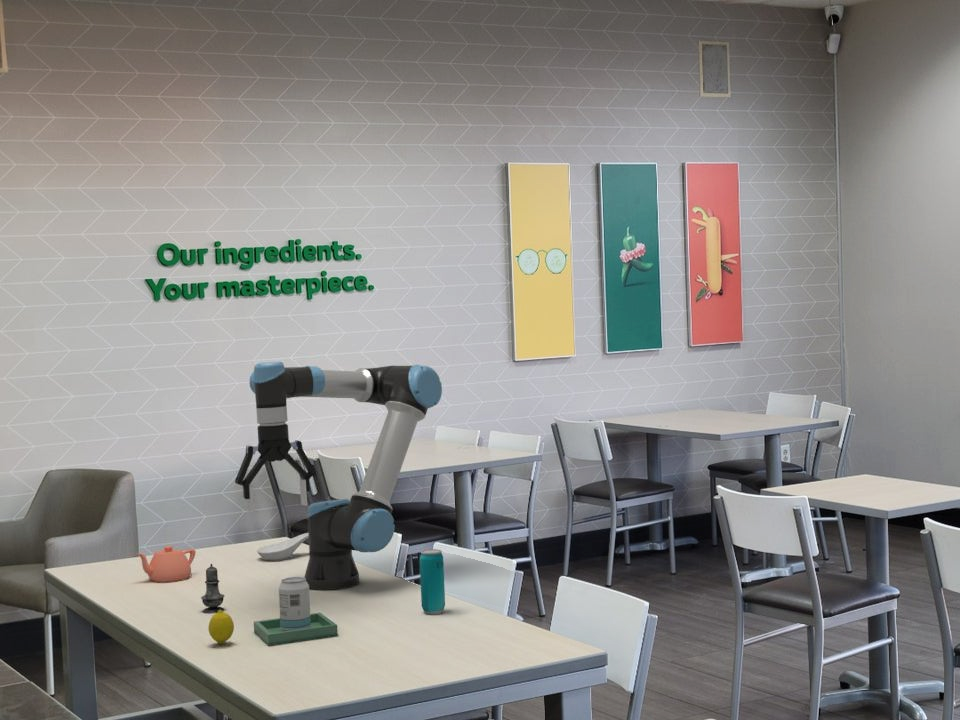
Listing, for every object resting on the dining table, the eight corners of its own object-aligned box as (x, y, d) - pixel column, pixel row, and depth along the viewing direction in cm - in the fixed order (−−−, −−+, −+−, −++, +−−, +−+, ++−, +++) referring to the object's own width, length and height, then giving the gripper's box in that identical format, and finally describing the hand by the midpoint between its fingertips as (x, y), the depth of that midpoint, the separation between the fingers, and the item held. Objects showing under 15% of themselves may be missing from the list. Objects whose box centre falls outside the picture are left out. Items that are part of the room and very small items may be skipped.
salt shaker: (219, 613, 297) (217, 565, 296) (197, 613, 298) (195, 565, 297) (229, 607, 302) (226, 561, 302) (207, 607, 304) (205, 561, 303)
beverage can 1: (316, 628, 275) (313, 576, 275) (302, 635, 268) (299, 583, 268) (289, 626, 277) (287, 575, 277) (275, 634, 271) (272, 582, 270)
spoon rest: (262, 565, 360) (261, 541, 359) (253, 558, 370) (252, 535, 370) (337, 556, 369) (336, 533, 369) (327, 550, 380) (326, 528, 379)
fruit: (222, 648, 262) (220, 613, 262) (204, 646, 265) (202, 610, 265) (239, 642, 267) (238, 607, 267) (221, 640, 270) (220, 605, 270)
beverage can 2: (449, 610, 290) (447, 549, 290) (438, 615, 285) (436, 553, 284) (428, 608, 292) (426, 548, 292) (417, 614, 287) (415, 552, 287)
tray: (320, 622, 282) (320, 612, 282) (337, 635, 270) (337, 625, 270) (254, 632, 276) (253, 621, 276) (268, 645, 263) (267, 634, 263)
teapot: (205, 577, 343) (203, 544, 343) (145, 587, 332) (144, 553, 332) (187, 571, 353) (185, 539, 353) (128, 581, 342) (127, 548, 341)
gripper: (315, 418, 304) (320, 500, 305) (219, 427, 293) (225, 512, 294) (325, 420, 297) (330, 503, 298) (226, 429, 287) (232, 516, 288)
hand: (278, 508), depth 296 cm, fingers open, 13 cm apart
